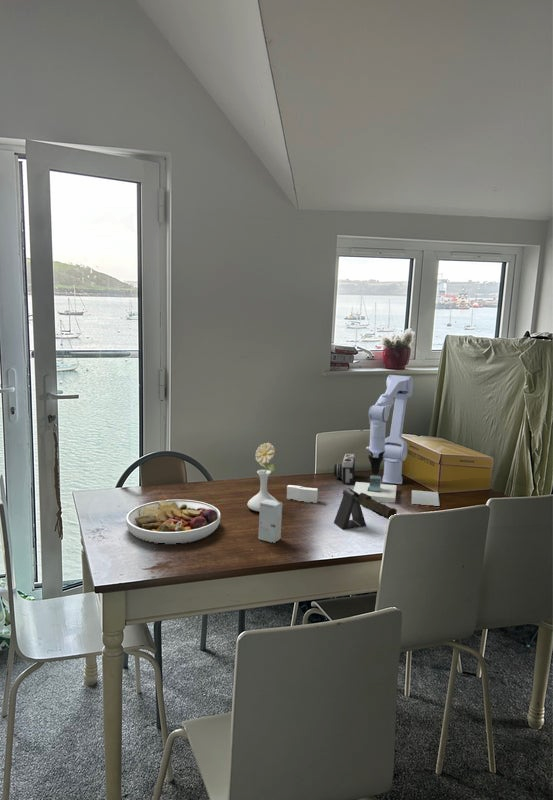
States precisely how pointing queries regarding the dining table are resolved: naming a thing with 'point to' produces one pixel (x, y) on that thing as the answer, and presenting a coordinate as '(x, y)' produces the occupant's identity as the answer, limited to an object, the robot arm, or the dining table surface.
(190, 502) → the bowl
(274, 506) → the skincare box
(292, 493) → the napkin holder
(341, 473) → the camera
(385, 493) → the plate
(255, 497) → the flower in vase
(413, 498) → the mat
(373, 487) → the teal rectangular block
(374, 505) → the dark brown wooden bar
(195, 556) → the dining table surface
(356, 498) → the phone stand
